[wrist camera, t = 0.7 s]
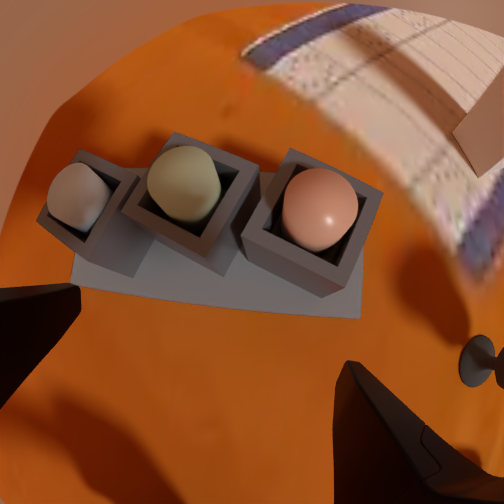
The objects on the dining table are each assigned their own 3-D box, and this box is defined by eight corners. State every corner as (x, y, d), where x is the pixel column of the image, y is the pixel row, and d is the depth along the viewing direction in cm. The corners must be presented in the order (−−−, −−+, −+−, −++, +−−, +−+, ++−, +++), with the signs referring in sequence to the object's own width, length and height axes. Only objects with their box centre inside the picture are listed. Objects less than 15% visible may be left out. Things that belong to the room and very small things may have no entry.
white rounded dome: (103, 246, 19) (70, 228, 15) (71, 224, 19) (38, 205, 15) (130, 199, 19) (103, 173, 15) (96, 181, 20) (68, 156, 16)
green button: (206, 241, 18) (190, 220, 14) (158, 216, 19) (134, 191, 15) (235, 191, 19) (228, 159, 15) (188, 170, 19) (171, 137, 16)
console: (355, 318, 22) (397, 315, 14) (77, 285, 24) (18, 269, 16) (358, 188, 24) (389, 137, 17) (102, 174, 26) (59, 131, 18)
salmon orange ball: (325, 266, 17) (341, 251, 14) (270, 239, 18) (270, 216, 14) (348, 215, 18) (367, 188, 14) (296, 189, 19) (302, 156, 15)
